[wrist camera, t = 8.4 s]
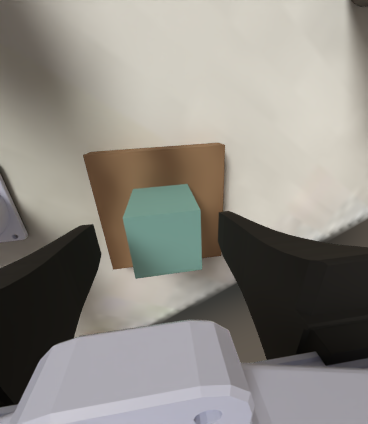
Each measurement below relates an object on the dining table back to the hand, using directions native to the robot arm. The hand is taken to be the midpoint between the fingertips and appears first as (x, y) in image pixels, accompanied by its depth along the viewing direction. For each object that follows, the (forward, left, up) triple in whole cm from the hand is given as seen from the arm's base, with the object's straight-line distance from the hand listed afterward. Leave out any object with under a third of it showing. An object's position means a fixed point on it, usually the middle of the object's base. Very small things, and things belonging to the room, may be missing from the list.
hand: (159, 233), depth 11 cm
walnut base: (0, -2, -10) cm, 10 cm away
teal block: (0, -2, -8) cm, 8 cm away
